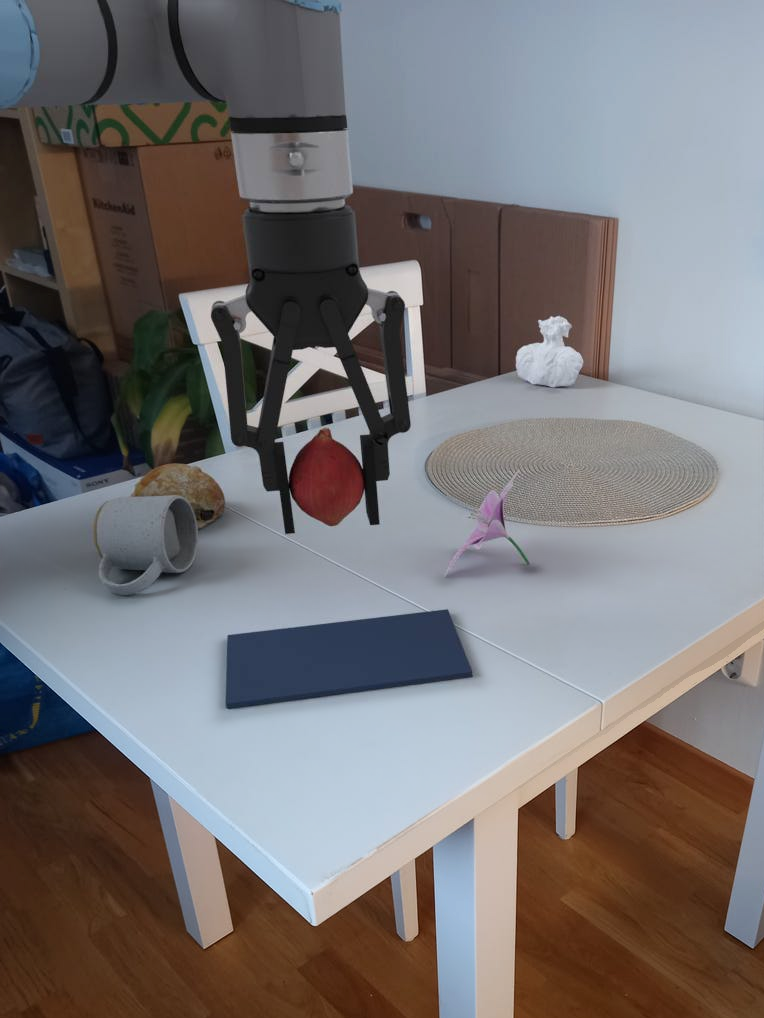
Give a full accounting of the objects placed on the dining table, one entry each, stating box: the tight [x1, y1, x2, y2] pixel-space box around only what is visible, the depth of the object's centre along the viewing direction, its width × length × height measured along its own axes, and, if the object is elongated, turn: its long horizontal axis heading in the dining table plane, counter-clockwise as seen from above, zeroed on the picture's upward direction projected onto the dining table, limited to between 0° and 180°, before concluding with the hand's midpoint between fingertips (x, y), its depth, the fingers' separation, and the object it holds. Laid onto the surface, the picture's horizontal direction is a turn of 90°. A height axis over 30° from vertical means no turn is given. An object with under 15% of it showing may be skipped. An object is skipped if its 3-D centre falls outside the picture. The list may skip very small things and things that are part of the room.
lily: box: [444, 469, 531, 577], centre depth 93 cm, size 12×12×10 cm
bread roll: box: [129, 462, 226, 530], centre depth 105 cm, size 10×10×8 cm
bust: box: [515, 315, 584, 388], centre depth 150 cm, size 12×8×11 cm
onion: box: [288, 427, 365, 527], centre depth 72 cm, size 6×6×8 cm
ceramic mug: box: [92, 495, 199, 596], centre depth 92 cm, size 11×8×8 cm
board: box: [225, 608, 474, 709], centre depth 80 cm, size 20×11×1 cm, turn 102°
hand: (331, 522), depth 74 cm, fingers closed on onion, 6 cm apart
